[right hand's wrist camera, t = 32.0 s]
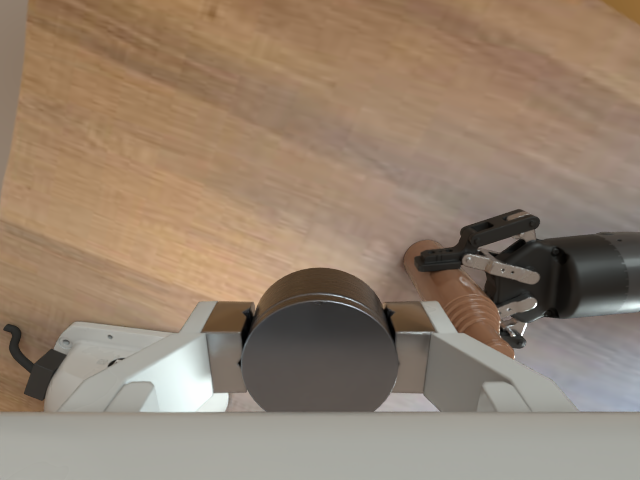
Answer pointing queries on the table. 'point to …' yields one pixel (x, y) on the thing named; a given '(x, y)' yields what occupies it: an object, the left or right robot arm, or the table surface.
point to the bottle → (458, 299)
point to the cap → (319, 345)
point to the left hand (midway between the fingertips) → (417, 290)
